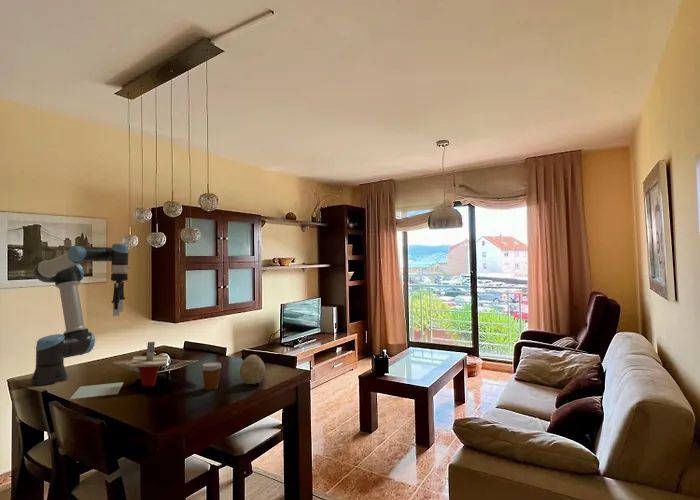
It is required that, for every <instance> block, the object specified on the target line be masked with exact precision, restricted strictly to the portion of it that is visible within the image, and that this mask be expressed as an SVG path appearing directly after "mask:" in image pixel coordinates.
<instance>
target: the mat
mask: <svg viewBox="0 0 700 500" xmlns="http://www.w3.org/2000/svg"><path fill="white" fill-rule="evenodd" d="M123 385H124V381H123V382H122V381H121V382H113V383H103V384H91V385H83V386H82V385H81V386H79V387H78V388H77V390H76V391H75V392H73V394H72V396H71V397H70V398H69V400H74V399H75V400H76V399H82V398H83V399H84V398H85V399H86V398H93V397H101V396H111V395H118V394H119V392H120V390H121V388H122V387H123Z"/></svg>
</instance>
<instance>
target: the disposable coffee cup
mask: <svg viewBox="0 0 700 500" xmlns="http://www.w3.org/2000/svg"><path fill="white" fill-rule="evenodd" d="M222 366H223V365H222V363H221V362H218V361H210V362H206V363H203V364H202V365H201V370H202V377H203V387H204V390H205V389H206V390H205V391H213V390H212V389H215V390H217V389H218V388H219V383H220V375H221V369H222ZM216 388H217V389H216Z"/></svg>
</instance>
